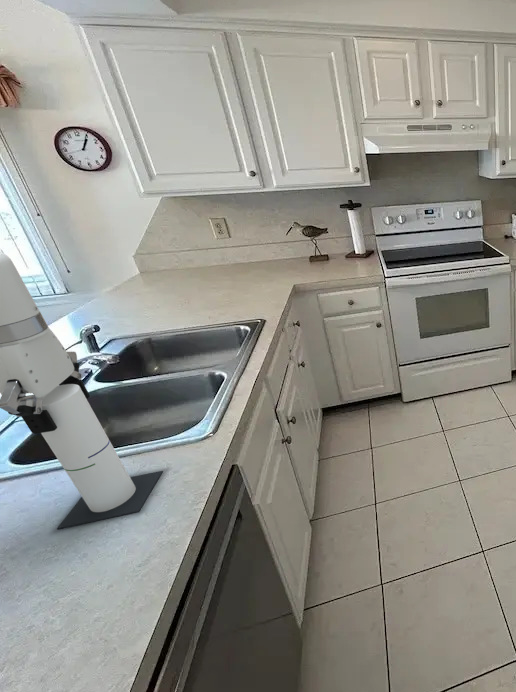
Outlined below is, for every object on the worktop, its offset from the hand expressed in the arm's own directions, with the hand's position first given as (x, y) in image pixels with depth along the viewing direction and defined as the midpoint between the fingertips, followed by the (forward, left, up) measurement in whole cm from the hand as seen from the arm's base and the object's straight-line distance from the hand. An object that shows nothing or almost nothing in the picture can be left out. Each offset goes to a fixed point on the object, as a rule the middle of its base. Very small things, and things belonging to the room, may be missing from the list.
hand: (63, 414), depth 74 cm
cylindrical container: (0, 0, -21) cm, 21 cm away
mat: (0, 0, -21) cm, 21 cm away
